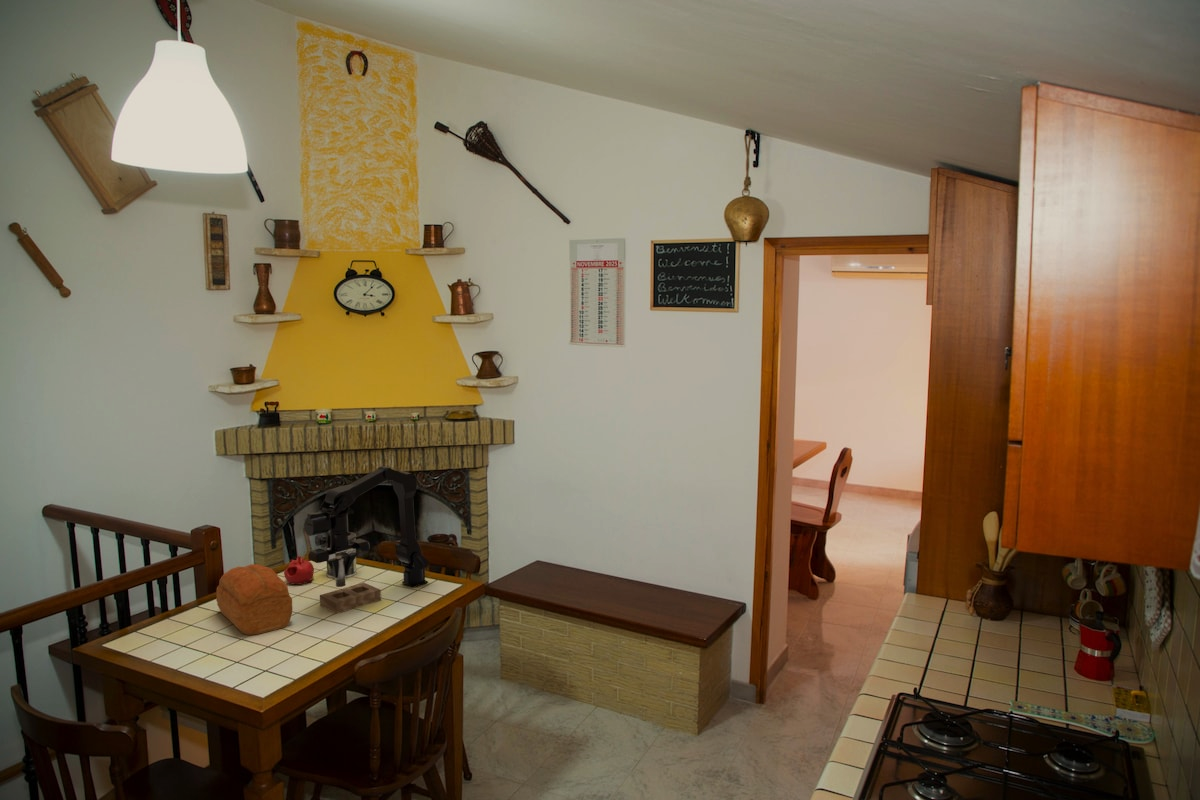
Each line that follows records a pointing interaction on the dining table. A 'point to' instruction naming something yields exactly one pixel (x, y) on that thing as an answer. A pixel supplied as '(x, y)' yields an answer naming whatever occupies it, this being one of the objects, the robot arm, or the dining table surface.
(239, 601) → the bread
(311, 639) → the dining table surface
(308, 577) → the pomegranate
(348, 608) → the socket block
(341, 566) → the peg
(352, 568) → the coffee can
